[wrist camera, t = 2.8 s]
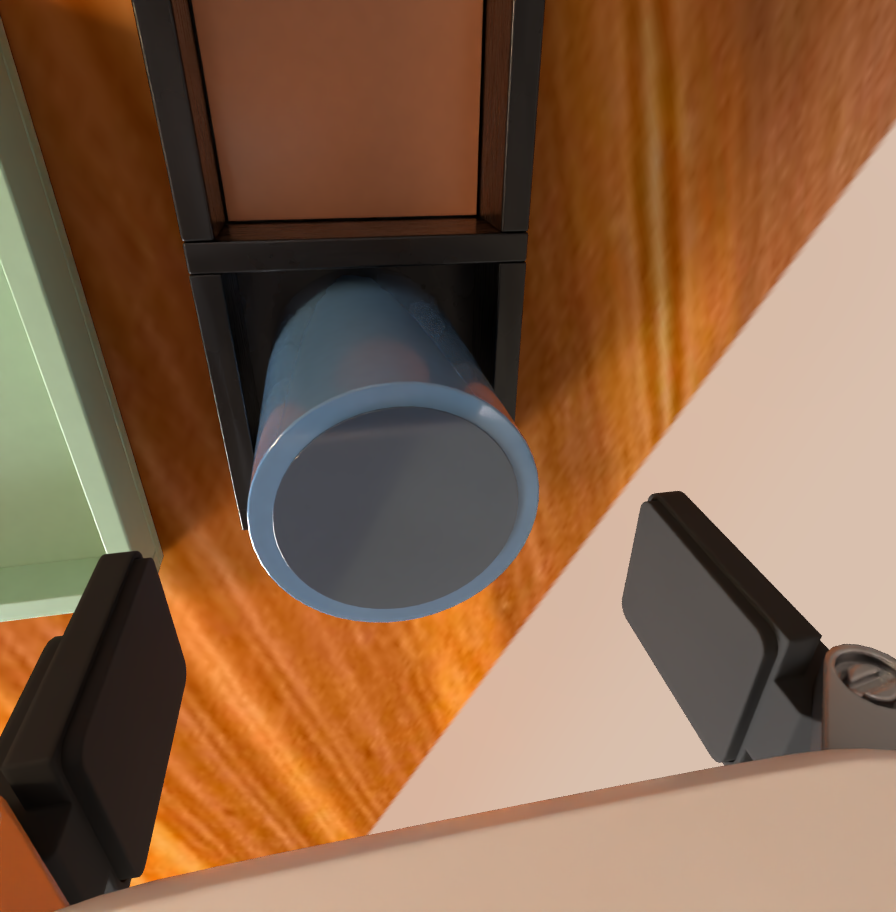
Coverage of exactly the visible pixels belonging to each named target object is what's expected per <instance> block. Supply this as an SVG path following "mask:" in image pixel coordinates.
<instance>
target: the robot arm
mask: <svg viewBox="0 0 896 912" xmlns="http://www.w3.org/2000/svg"><path fill="white" fill-rule="evenodd" d="M622 608H623V612H624V615H625V617H626V619H627V621H628V622H629V624H630V626H631V627H632V629H633V631H634V632H635V634H636V635H637V637H638V639H639V640H640V642H641V643H642V645H643V647H644V648H645V650H646V651H647V653H648V655H649V656H650V658H651V660H652V661H653V663H654V665H655V666H656V668H657V669H658V671H659V673H660V674H661V676H662V678H663V679H664V681H665V682H666V684H667V686H668V687H669V689H670V691H671V692H672V694H673V695H674V697H675V699H676V700H677V702H678V704H679V705H680V707H681V708H682V710H683V712H684V713H685V715H686V717H687V718H688V720H689V721H690V723H691V725H692V726H693V728H694V729H695V731H696V733H697V734H698V736H699V738H700V739H701V741H702V742H703V744H704V746H705V747H706V749H707V751H708V752H709V754H710V755H711V757H712V758H713V759H714V760H715V761H716V762H719V763H720V762H722V763H723V764H724V766H720V767H715V768H709V769H704V770H699V771H693V772H688V773H683V774H678V775H673V776H667V777H662V778H657V779H651V780H647V781H641V782H636V783H631V784H626V785H620V786H615V787H610V788H605V789H600V790H594V791H589V792H584V793H579V794H573V795H568V796H563V797H558V798H553V799H548V800H543V801H538V802H533V803H528V804H523V805H518V806H513V807H507V808H503V809H498V810H492V811H487V812H482V813H477V814H472V815H468V816H462V817H457V818H452V819H447V820H442V821H437V822H432V823H427V824H422V825H416V826H412V827H407V828H402V829H397V830H392V831H387V832H382V833H377V834H372V835H367V836H362V837H357V838H352V839H347V840H343V841H338V842H333V843H328V844H323V845H318V846H313V847H308V848H303V849H298V850H293V851H288V852H283V853H279V854H274V855H269V856H264V857H259V858H255V859H250V860H246V861H241V862H236V863H232V864H227V865H223V866H218V867H214V868H209V869H205V870H200V871H196V872H191V873H187V874H182V875H178V876H173V877H168V878H164V879H159V880H155V881H152V882H148V883H144V884H140V885H137V886H133V887H129V886H130V882H131V878H135V877H140V876H141V875H142V873H143V871H144V868H145V864H146V860H147V856H148V851H149V846H150V842H151V837H152V833H153V828H154V824H155V819H156V815H157V810H158V806H159V801H160V796H161V792H162V787H163V783H164V778H165V774H166V769H167V765H168V760H169V755H170V751H171V746H172V742H173V737H174V733H175V728H176V724H177V719H178V714H179V710H180V705H181V701H182V696H183V692H184V687H185V682H186V664H185V660H184V656H183V653H182V650H181V647H180V643H179V640H178V637H177V634H176V630H175V627H174V624H173V620H172V617H171V614H170V611H169V607H168V604H167V601H166V598H165V594H164V591H163V588H162V584H161V581H160V578H159V575H158V571H157V568H156V565H155V562H154V560H153V559H152V558H150V557H149V558H143V556H142V554H141V553H140V552H139V551H129V552H120V553H111V554H104V555H102V556H101V557H100V559H99V560H98V562H97V565H96V567H95V569H94V571H93V573H92V575H91V577H90V579H89V582H88V584H87V586H86V588H85V590H84V592H83V594H82V596H81V598H80V601H79V603H78V605H77V607H76V609H75V611H74V613H73V615H72V618H71V620H70V622H69V624H68V626H67V628H66V630H65V632H64V635H63V636H57V637H54V638H53V639H51V640H50V641H49V642H48V643H47V645H46V646H45V648H44V650H43V652H42V654H41V656H40V658H39V660H38V662H37V664H36V666H35V668H34V670H33V672H32V674H31V676H30V678H29V680H28V682H27V684H26V686H25V688H24V690H23V692H22V694H21V696H20V698H19V700H18V702H17V704H16V706H15V708H14V710H13V712H12V714H11V716H10V718H9V720H8V722H7V724H6V726H5V728H4V730H3V732H2V734H1V736H0V912H896V659H895V658H893V657H891V656H890V655H888V654H885V653H883V652H881V651H878V650H876V649H873V648H870V647H865V646H861V645H855V644H842V645H839V646H835V647H832V648H831V649H830V650H829V649H828V648H827V647H826V646H825V645H824V644H823V643H822V642H821V641H820V639H821V637H822V635H821V634H820V633H819V632H818V631H817V630H816V629H815V628H814V627H813V626H812V625H811V624H810V623H809V622H808V621H807V620H806V619H805V618H804V617H803V616H802V615H801V614H800V613H799V612H798V611H797V610H796V608H795V607H793V606H792V604H791V603H790V602H789V601H788V600H787V599H786V598H785V597H784V596H783V595H782V594H781V593H780V592H779V591H778V590H777V589H776V588H775V587H774V586H773V585H772V584H771V583H770V582H769V581H768V580H767V579H766V577H764V575H763V574H762V573H760V571H759V570H758V569H757V568H756V567H755V566H754V565H753V564H752V563H751V562H750V561H749V560H748V559H747V558H746V557H745V556H744V555H743V554H742V553H741V552H740V551H739V550H738V548H737V547H736V546H735V545H734V544H733V543H732V542H731V541H730V540H729V539H728V538H727V537H726V536H725V535H724V534H723V533H722V532H721V531H720V530H719V529H718V528H717V527H716V526H715V525H714V524H713V523H712V522H711V521H710V520H709V519H708V518H707V516H705V514H704V513H703V512H702V511H701V510H700V509H699V508H698V507H697V506H696V505H695V504H694V503H693V502H692V501H691V500H690V499H689V498H688V497H687V496H686V495H685V494H684V493H683V492H681V491H673V492H664V493H655V494H652V495H651V496H650V497H649V499H648V501H647V502H644V503H643V504H642V505H641V508H640V513H639V518H638V523H637V529H636V533H635V538H634V543H633V548H632V553H631V558H630V563H629V568H628V573H627V578H626V583H625V588H624V592H623V597H622Z"/></svg>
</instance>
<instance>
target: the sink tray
mask: <svg viewBox="0 0 896 912" xmlns="http://www.w3.org/2000/svg"><path fill="white" fill-rule="evenodd" d="M129 551H139V552H140V553H141V554H142V556H143V558H149V557H150V558H152V559H153V560H154V562H155V565H156V568H157V571H158V572H159V569H160V565H161V562H162V559H163V553H162V549H161V546H160V543H159V539H158V536H157V533H156V530H155V526H154V523H153V520H152V516H151V513H150V510H149V506H148V503H147V500H146V496H145V493H144V490H143V487H142V483H141V480H140V477H139V473H138V470H137V467H136V463H135V460H134V457H133V453H132V450H131V447H130V444H129V440H128V437H127V434H126V430H125V427H124V424H123V420H122V417H121V414H120V410H119V407H118V404H117V401H116V397H115V394H114V391H113V387H112V384H111V381H110V377H109V374H108V371H107V367H106V364H105V361H104V358H103V354H102V351H101V348H100V344H99V341H98V338H97V334H96V331H95V328H94V325H93V321H92V318H91V315H90V311H89V308H88V305H87V301H86V298H85V295H84V291H83V288H82V285H81V282H80V278H79V275H78V272H77V268H76V265H75V262H74V258H73V255H72V252H71V248H70V245H69V242H68V239H67V235H66V232H65V229H64V225H63V222H62V219H61V215H60V212H59V209H58V205H57V202H56V199H55V196H54V192H53V189H52V186H51V182H50V179H49V176H48V172H47V169H46V166H45V162H44V159H43V156H42V153H41V149H40V146H39V143H38V139H37V136H36V133H35V129H34V126H33V123H32V120H31V116H30V113H29V110H28V106H27V103H26V100H25V96H24V93H23V90H22V86H21V83H20V80H19V77H18V73H17V70H16V67H15V63H14V60H13V57H12V53H11V50H10V47H9V43H8V40H7V37H6V34H5V30H4V27H3V24H2V20H1V17H0V622H4V621H12V620H20V619H28V618H35V617H43V616H51V615H59V614H67V613H74V611H75V609H76V607H77V605H78V603H79V601H80V598H81V596H82V594H83V592H84V590H85V588H86V586H87V584H88V582H89V579H90V577H91V575H92V573H93V571H94V569H95V567H96V565H97V562H98V560H99V559H100V557H101V556H102V555H104V554H111V553H120V552H129Z"/></svg>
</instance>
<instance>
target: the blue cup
mask: <svg viewBox="0 0 896 912" xmlns="http://www.w3.org/2000/svg"><path fill="white" fill-rule="evenodd" d="M538 502H539V480H538V472H537V467H536V464H535V461H534V457H533V454H532V452H531V450H530V448H529V446H528V444H527V442H526V440H525V438H524V437H523V435H522V434H521V432H520V431H519V429H518V427H517V426H516V424H515V423H514V421H513V419H512V418H511V416H510V415H509V413H508V411H507V410H506V408H505V407H504V405H503V404H502V402H501V400H500V399H499V397H498V396H497V394H496V392H495V391H494V389H493V388H492V386H491V384H490V383H489V381H488V380H487V378H486V377H485V375H484V373H483V372H482V370H481V369H480V367H479V365H478V364H477V362H476V361H475V359H474V358H473V356H472V354H471V353H470V351H469V350H468V348H467V346H466V345H465V343H464V342H463V340H462V338H461V337H460V335H459V334H458V332H457V331H456V329H455V327H454V326H453V324H452V323H451V321H450V319H449V318H448V316H447V315H446V313H445V311H444V310H443V309H442V307H441V306H440V304H439V303H438V301H437V300H436V299H435V298H434V297H433V296H432V295H431V294H430V293H429V292H428V291H427V290H426V289H425V288H423V287H422V286H421V285H420V284H418V283H417V282H415V281H413V280H412V279H410V278H408V277H406V276H404V275H402V274H399V273H397V272H393V271H390V270H387V269H381V268H375V267H373V268H348V269H341V270H337V271H333V272H331V273H328V274H326V275H323V276H321V277H319V278H317V279H316V280H314V281H312V282H310V283H309V284H308V285H306V286H305V287H304V288H302V289H301V290H300V291H299V292H298V293H297V294H296V295H295V296H294V297H293V298H292V299H291V300H290V301H289V303H288V304H287V305H286V307H285V308H284V309H283V311H282V313H281V315H280V317H279V319H278V321H277V323H276V326H275V329H274V331H273V336H272V341H271V347H270V353H269V360H268V367H267V373H266V380H265V387H264V393H263V400H262V407H261V413H260V420H259V427H258V433H257V440H256V447H255V454H254V460H253V467H252V474H251V480H250V487H249V494H248V502H247V522H248V531H249V535H250V538H251V542H252V545H253V548H254V550H255V552H256V555H257V557H258V559H259V561H260V563H261V564H262V565H263V567H264V568H265V570H266V571H267V573H268V574H269V576H270V577H271V578H272V579H273V580H274V581H275V582H276V583H277V584H278V585H279V586H280V587H281V588H282V589H283V590H285V591H286V592H287V593H288V594H290V595H291V596H292V597H293V598H295V599H297V600H298V601H300V602H302V603H303V604H305V605H307V606H309V607H311V608H313V609H315V610H318V611H320V612H322V613H325V614H329V615H332V616H335V617H338V618H343V619H348V620H353V621H362V622H396V621H405V620H411V619H416V618H421V617H425V616H428V615H432V614H435V613H438V612H441V611H443V610H446V609H448V608H451V607H453V606H455V605H457V604H459V603H461V602H463V601H465V600H467V599H469V598H470V597H472V596H474V595H475V594H477V593H478V592H480V591H482V590H483V589H484V588H485V587H487V586H488V585H489V584H491V583H492V582H493V581H494V580H495V579H496V578H497V577H499V576H500V575H501V574H502V573H503V572H504V571H505V570H506V569H507V567H508V566H509V565H510V564H511V563H512V561H513V560H514V559H515V558H516V556H517V555H518V553H519V552H520V550H521V549H522V547H523V546H524V544H525V542H526V540H527V538H528V536H529V534H530V532H531V529H532V526H533V523H534V520H535V517H536V513H537V507H538Z"/></svg>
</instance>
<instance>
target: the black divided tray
mask: <svg viewBox="0 0 896 912" xmlns="http://www.w3.org/2000/svg"><path fill="white" fill-rule="evenodd" d="M131 1H132V6H133V11H134V16H135V21H136V25H137V30H138V35H139V40H140V44H141V49H142V54H143V59H144V64H145V68H146V73H147V78H148V83H149V87H150V92H151V97H152V102H153V106H154V111H155V116H156V121H157V126H158V130H159V135H160V140H161V145H162V149H163V154H164V159H165V164H166V168H167V173H168V178H169V183H170V188H171V192H172V197H173V202H174V207H175V211H176V216H177V221H178V226H179V231H180V235H181V239H182V241H184V243H183V250H184V255H185V259H186V264H187V269H188V272H189V274H190V275H189V279H190V284H191V289H192V294H193V299H194V303H195V308H196V313H197V318H198V322H199V327H200V332H201V337H202V341H203V346H204V351H205V356H206V361H207V365H208V370H209V375H210V380H211V384H212V389H213V394H214V399H215V403H216V408H217V413H218V418H219V423H220V427H221V432H222V437H223V442H224V446H225V451H226V456H227V461H228V465H229V470H230V475H231V480H232V484H233V489H234V494H235V499H236V504H237V508H238V510H239V511H238V512H239V517H240V522H241V527H242V529H243V530H248V522H247V502H248V494H249V487H250V480H251V474H252V467H253V460H254V454H255V447H256V440H257V433H258V427H259V420H260V413H261V407H262V400H263V393H264V387H265V380H266V373H267V367H268V360H269V353H270V347H271V341H272V336H273V331H274V329H275V326H276V323H277V321H278V319H279V317H280V315H281V313H282V311H283V309H284V308H285V307H286V305H287V304H288V303H289V301H290V300H291V299H292V298H293V297H294V296H295V295H296V294H297V293H298V292H299V291H300V290H301V289H302V288H304V287H305V286H306V285H308V284H309V283H310V282H312V281H314V280H316V279H317V278H319V277H321V276H323V275H326V274H328V273H331V272H333V271H337V270H341V269H348V268H373V267H375V268H381V269H387V270H390V271H393V272H397V273H399V274H402V275H404V276H406V277H408V278H410V279H412V280H413V281H415V282H417V283H418V284H420V285H421V286H422V287H423V288H425V289H426V290H427V291H428V292H429V293H430V294H431V295H432V296H433V297H434V298H435V299H436V300H437V301H438V303H439V304H440V306H441V307H442V309H443V310H444V311H445V313H446V315H447V316H448V318H449V319H450V321H451V323H452V324H453V326H454V327H455V329H456V331H457V332H458V334H459V335H460V337H461V338H462V340H463V342H464V343H465V345H466V346H467V348H468V350H469V351H470V353H471V354H472V356H473V358H474V359H475V361H476V362H477V364H478V365H479V367H480V369H481V370H482V372H483V373H484V375H485V377H486V378H487V380H488V381H489V383H490V384H491V386H492V388H493V389H494V391H495V392H496V394H497V396H498V397H499V399H500V400H501V402H502V404H503V405H504V407H505V408H506V410H507V411H508V413H509V415H510V416H511V418H512V419H513V421H514V423H515V409H516V396H517V382H518V369H519V355H520V342H521V328H522V314H523V301H524V287H525V274H526V262H525V261H526V258H527V244H528V233H527V232H526V231H528V229H529V216H530V202H531V189H532V175H533V162H534V148H535V134H536V121H537V107H538V94H539V80H540V67H541V53H542V39H543V26H544V12H545V0H131Z"/></svg>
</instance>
